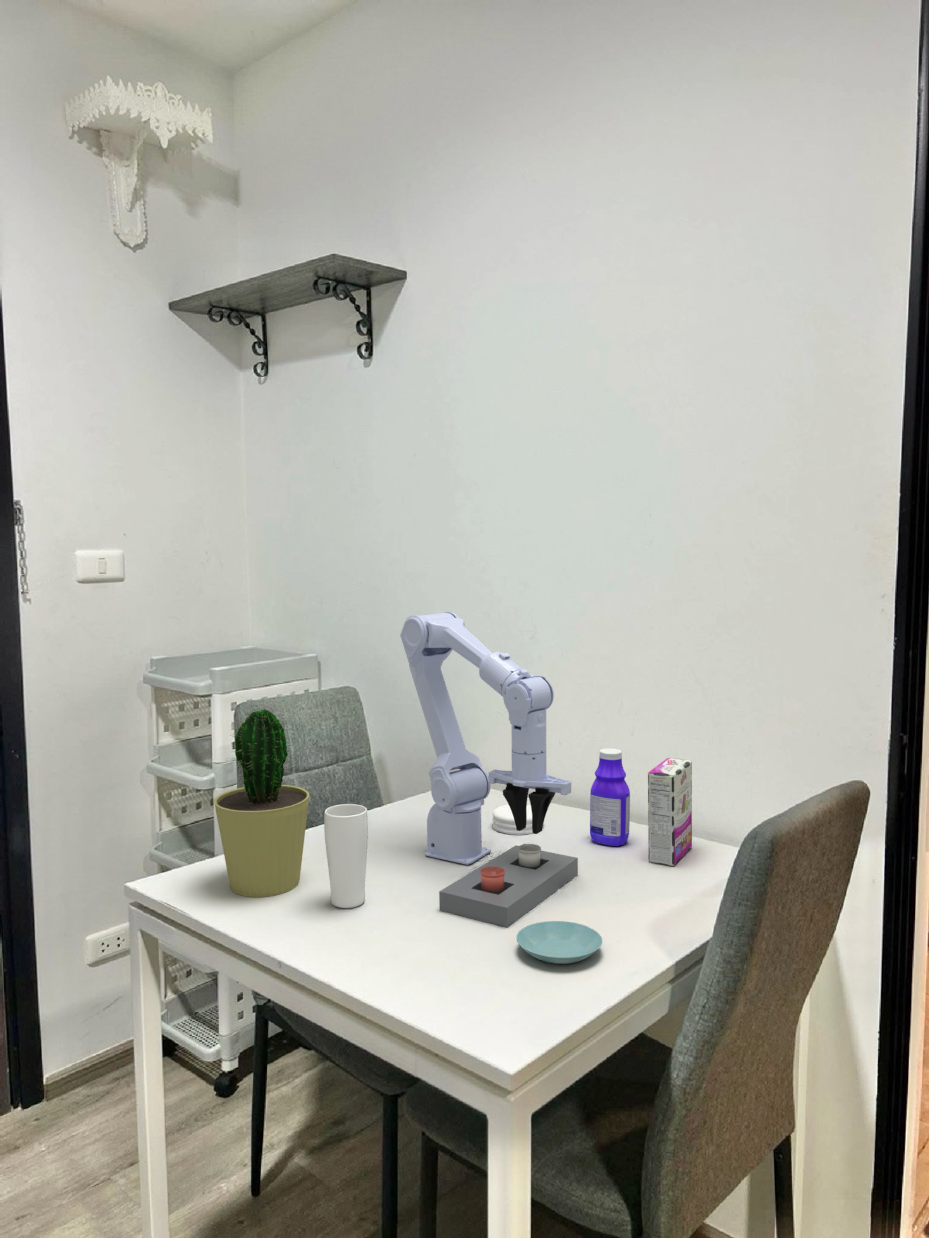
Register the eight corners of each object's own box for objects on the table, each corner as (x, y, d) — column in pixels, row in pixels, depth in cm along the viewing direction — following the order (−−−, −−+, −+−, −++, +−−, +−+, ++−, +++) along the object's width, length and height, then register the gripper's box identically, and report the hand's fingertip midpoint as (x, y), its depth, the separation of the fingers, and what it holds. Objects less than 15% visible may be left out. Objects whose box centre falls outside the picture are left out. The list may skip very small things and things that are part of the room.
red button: (475, 888, 143) (475, 872, 142) (488, 880, 146) (488, 864, 146) (497, 893, 141) (496, 876, 140) (509, 885, 144) (509, 868, 144)
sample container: (513, 864, 153) (513, 848, 152) (524, 857, 156) (524, 842, 156) (534, 869, 151) (534, 853, 150) (544, 861, 154) (544, 846, 154)
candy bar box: (665, 843, 170) (666, 756, 169) (692, 847, 168) (693, 759, 166) (646, 862, 161) (646, 770, 159) (674, 867, 158) (675, 774, 157)
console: (507, 927, 135) (507, 907, 135) (439, 910, 142) (439, 891, 141) (577, 874, 155) (577, 857, 155) (515, 861, 162) (515, 845, 162)
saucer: (515, 934, 133) (515, 919, 133) (597, 934, 133) (597, 919, 133) (517, 973, 122) (517, 957, 122) (607, 974, 121) (607, 957, 121)
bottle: (633, 840, 172) (634, 749, 170) (622, 849, 167) (622, 756, 166) (598, 834, 176) (598, 744, 174) (585, 842, 171) (585, 751, 169)
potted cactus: (261, 861, 164) (256, 694, 161) (330, 876, 156) (325, 702, 153) (196, 890, 150) (189, 710, 147) (268, 909, 143) (262, 719, 140)
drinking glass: (376, 897, 147) (374, 805, 146) (358, 913, 141) (356, 818, 139) (338, 892, 149) (336, 801, 148) (318, 908, 143) (316, 814, 141)
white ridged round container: (517, 816, 188) (517, 799, 188) (553, 827, 181) (553, 810, 180) (482, 827, 181) (481, 810, 181) (518, 839, 174) (518, 821, 174)
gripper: (478, 750, 152) (479, 830, 153) (557, 761, 144) (557, 845, 146) (500, 741, 158) (500, 818, 159) (577, 751, 150) (577, 832, 151)
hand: (529, 830), depth 153 cm, fingers closed
